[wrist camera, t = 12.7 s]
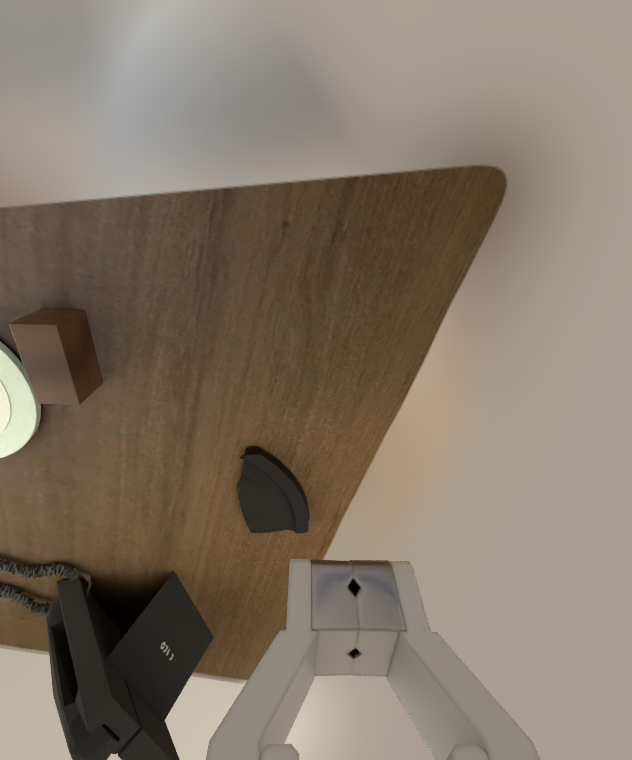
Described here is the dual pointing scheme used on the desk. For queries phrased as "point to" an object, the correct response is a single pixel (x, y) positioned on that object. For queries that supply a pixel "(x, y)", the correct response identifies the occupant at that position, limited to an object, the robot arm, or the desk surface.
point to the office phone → (116, 665)
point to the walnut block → (57, 355)
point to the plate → (15, 404)
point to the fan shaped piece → (271, 495)
